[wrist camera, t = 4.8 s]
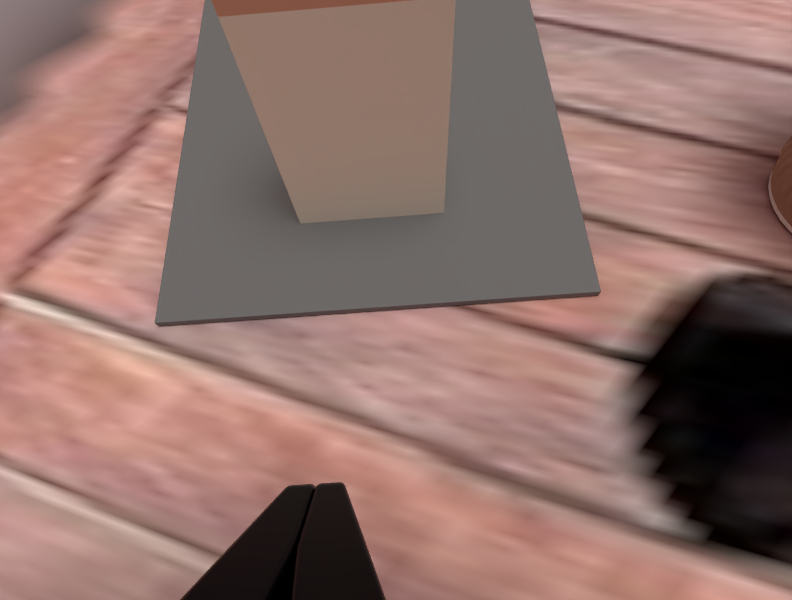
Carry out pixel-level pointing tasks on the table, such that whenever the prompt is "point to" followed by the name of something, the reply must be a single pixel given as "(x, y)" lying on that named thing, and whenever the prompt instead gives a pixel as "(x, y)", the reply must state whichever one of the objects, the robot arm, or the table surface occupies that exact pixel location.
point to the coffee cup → (782, 186)
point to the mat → (388, 236)
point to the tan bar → (350, 99)
